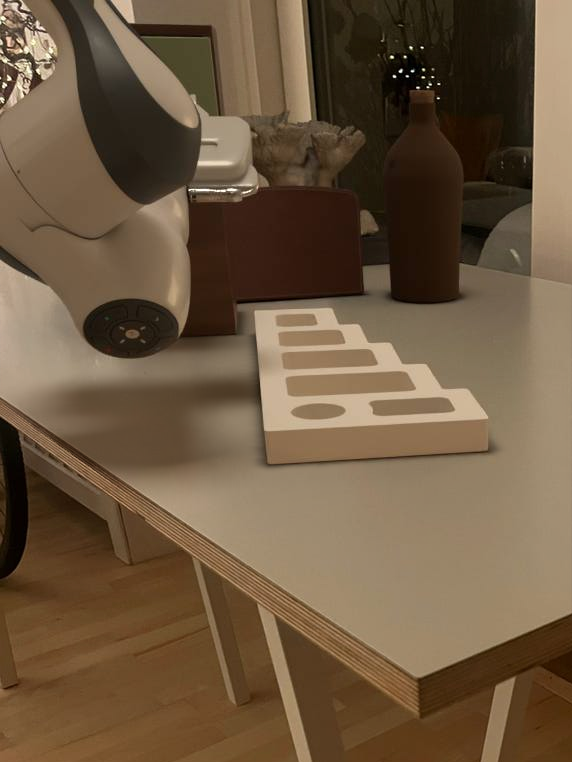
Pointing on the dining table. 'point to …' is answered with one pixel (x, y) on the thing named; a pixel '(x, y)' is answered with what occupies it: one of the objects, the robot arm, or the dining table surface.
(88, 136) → the robot arm
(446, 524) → the dining table surface
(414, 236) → the olive oil
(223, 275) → the stand
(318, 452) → the holder
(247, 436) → the dining table surface
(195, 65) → the drawer
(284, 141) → the coral
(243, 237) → the letter holder
